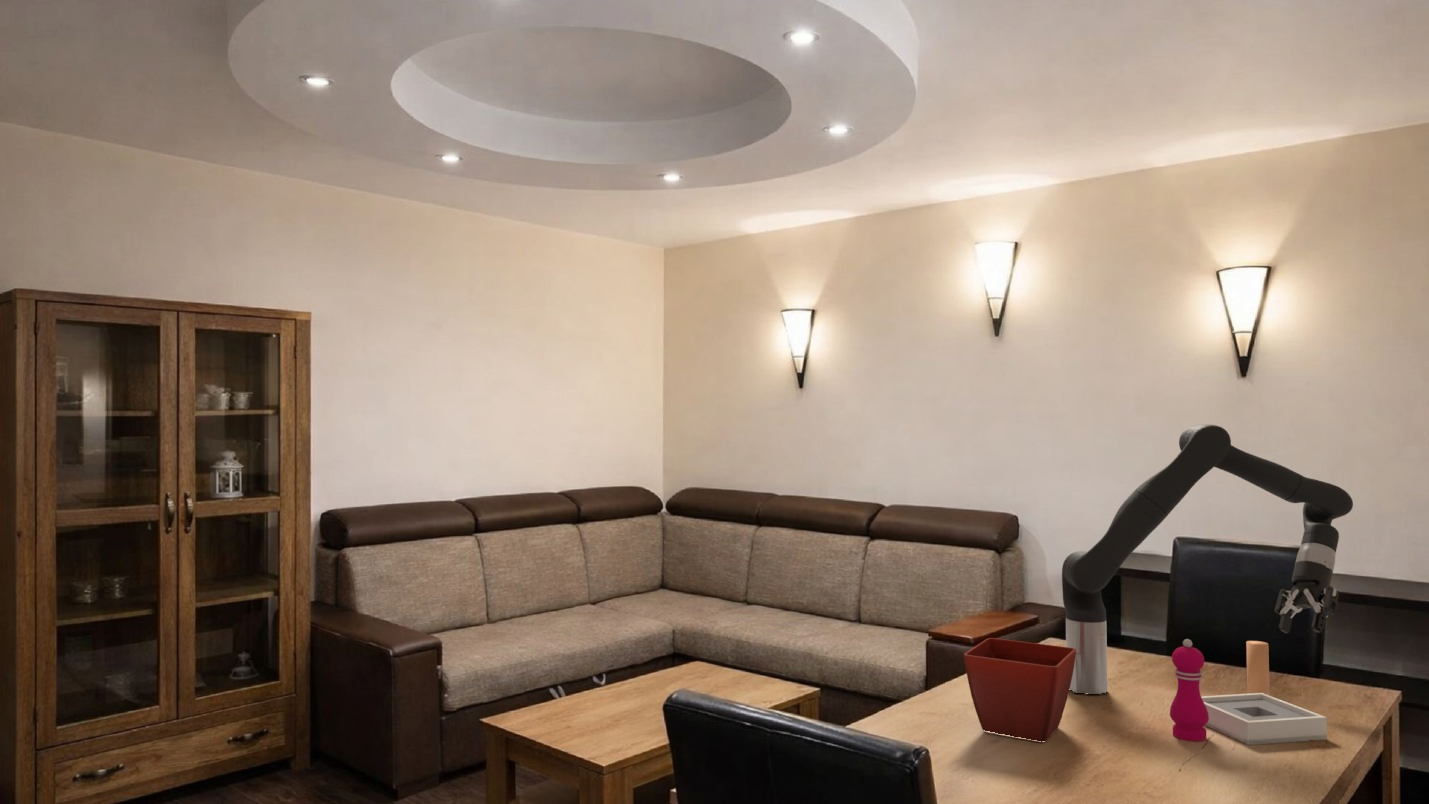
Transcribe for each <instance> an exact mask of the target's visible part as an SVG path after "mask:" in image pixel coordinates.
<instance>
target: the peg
mask: <svg viewBox="0 0 1429 804" xmlns="http://www.w3.org/2000/svg"><path fill="white" fill-rule="evenodd" d="M1245 643H1246V644H1245V645H1246V679H1247V680H1246V681H1247V683H1246V684H1247V687H1246V688H1247V690H1246V691H1247V693H1246V694H1250V693H1264V694H1267V695H1269V696H1271V695H1270V661H1269V660H1270V659H1269V658H1270V657H1269V652H1270V651H1269V643H1268V642H1265V641H1259V640H1247V641H1246V642H1245Z"/></svg>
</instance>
